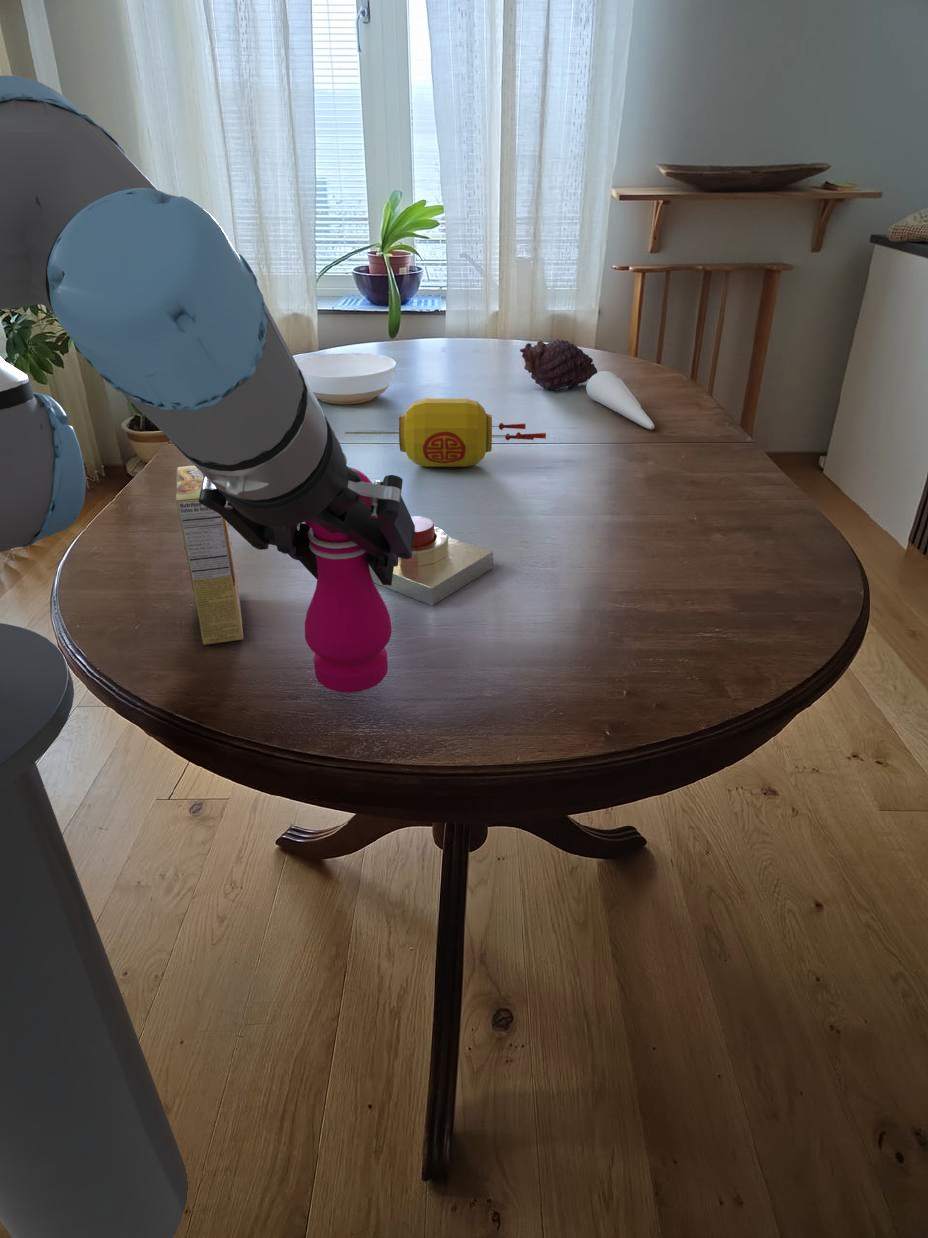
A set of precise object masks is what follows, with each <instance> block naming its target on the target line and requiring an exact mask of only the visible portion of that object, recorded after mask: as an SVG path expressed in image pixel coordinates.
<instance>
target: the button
mask: <svg viewBox="0 0 928 1238" xmlns="http://www.w3.org/2000/svg"><path fill="white" fill-rule="evenodd" d="M410 516H411V518H412V520H413V522H414V525H415V534H414V542H413V547H420V546H426V545H429V544H431V543H433V542H434V526H435V523H434V521H433V520H432V519H431V518H429V517H426V516H420V515H410Z"/></svg>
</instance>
